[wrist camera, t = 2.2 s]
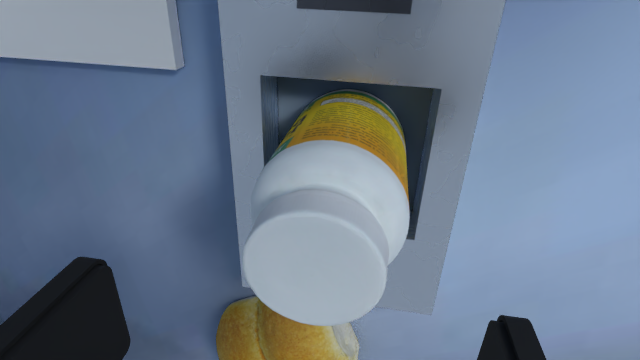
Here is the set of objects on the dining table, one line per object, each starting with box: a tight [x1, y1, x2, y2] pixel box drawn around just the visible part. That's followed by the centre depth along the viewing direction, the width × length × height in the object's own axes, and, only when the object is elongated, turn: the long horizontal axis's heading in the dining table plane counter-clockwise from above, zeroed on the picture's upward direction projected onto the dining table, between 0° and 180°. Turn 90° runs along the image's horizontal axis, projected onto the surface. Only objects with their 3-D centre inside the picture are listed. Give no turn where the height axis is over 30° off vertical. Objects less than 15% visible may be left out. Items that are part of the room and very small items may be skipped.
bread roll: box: [216, 296, 359, 360], centre depth 25 cm, size 8×9×4 cm
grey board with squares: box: [218, 0, 506, 315], centre depth 16 cm, size 24×10×3 cm, turn 178°
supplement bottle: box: [242, 89, 410, 326], centre depth 15 cm, size 5×5×10 cm
